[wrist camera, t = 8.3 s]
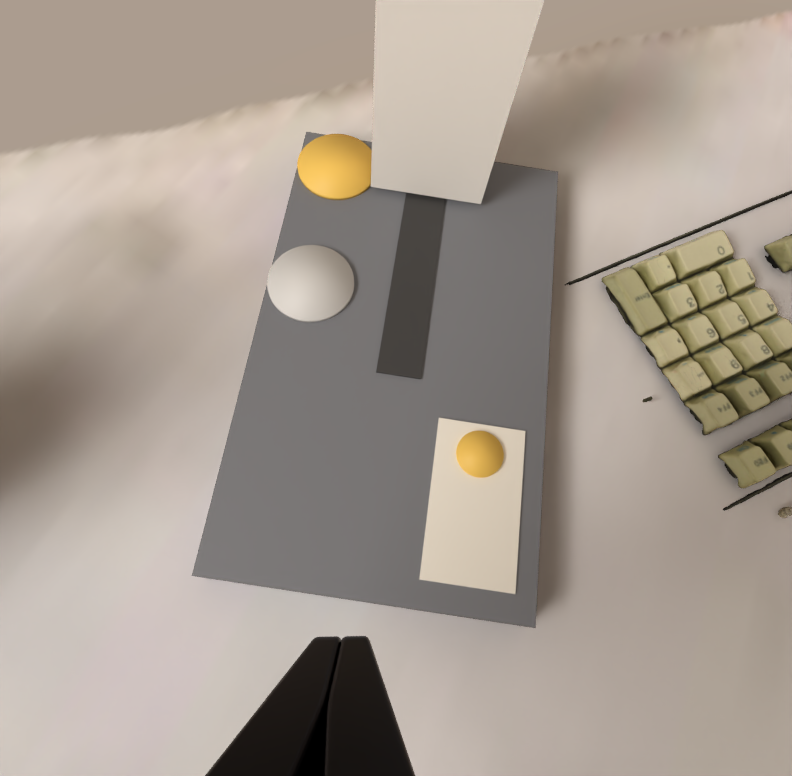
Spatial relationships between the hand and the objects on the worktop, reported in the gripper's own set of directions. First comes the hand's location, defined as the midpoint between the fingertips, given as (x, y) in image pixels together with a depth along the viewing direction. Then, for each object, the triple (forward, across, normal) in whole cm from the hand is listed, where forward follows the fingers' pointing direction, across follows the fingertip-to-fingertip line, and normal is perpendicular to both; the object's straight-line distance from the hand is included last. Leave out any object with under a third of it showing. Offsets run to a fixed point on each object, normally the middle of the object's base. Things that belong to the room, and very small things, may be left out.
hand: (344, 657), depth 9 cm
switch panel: (+16, 0, 0) cm, 17 cm away
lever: (+21, -2, -8) cm, 22 cm away
